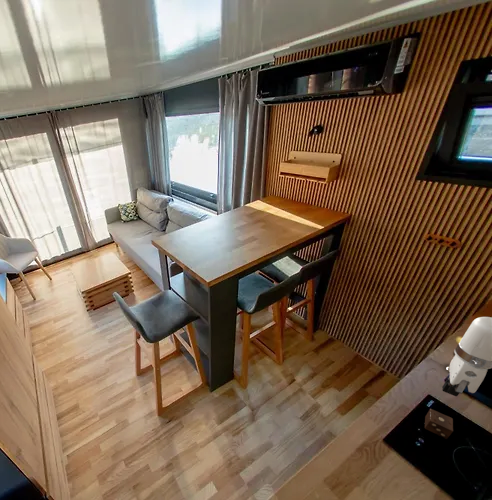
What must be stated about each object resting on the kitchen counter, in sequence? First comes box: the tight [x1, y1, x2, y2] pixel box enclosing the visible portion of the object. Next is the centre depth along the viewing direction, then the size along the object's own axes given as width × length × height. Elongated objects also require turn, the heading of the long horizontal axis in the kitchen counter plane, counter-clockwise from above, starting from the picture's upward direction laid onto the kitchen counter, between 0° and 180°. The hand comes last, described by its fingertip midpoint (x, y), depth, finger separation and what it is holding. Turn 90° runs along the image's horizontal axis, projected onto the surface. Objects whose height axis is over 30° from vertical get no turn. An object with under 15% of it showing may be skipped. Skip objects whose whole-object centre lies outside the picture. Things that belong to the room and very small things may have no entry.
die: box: [424, 408, 454, 440], centre depth 84 cm, size 5×5×5 cm
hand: (449, 391), depth 83 cm, fingers closed
